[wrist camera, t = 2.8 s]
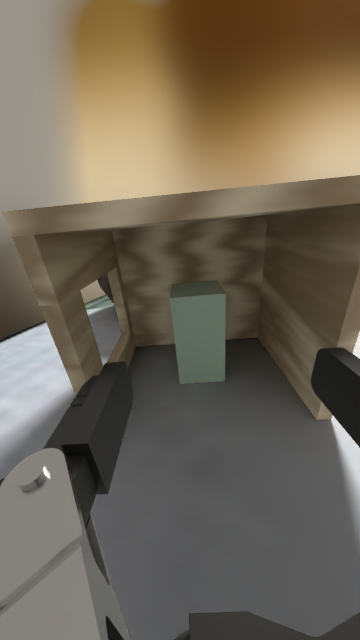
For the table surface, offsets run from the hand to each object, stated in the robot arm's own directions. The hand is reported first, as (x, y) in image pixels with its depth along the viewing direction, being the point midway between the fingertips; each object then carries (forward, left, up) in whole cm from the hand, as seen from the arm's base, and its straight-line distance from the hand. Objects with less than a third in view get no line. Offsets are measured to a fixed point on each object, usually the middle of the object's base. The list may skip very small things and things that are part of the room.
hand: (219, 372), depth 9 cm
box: (0, -12, -10) cm, 16 cm away
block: (0, -13, -10) cm, 16 cm away
